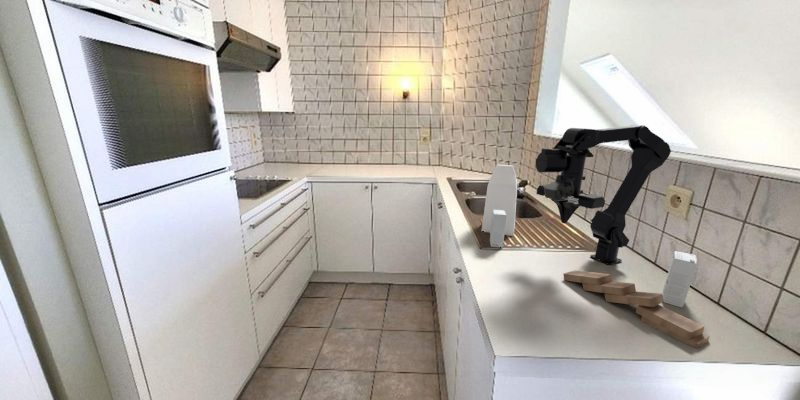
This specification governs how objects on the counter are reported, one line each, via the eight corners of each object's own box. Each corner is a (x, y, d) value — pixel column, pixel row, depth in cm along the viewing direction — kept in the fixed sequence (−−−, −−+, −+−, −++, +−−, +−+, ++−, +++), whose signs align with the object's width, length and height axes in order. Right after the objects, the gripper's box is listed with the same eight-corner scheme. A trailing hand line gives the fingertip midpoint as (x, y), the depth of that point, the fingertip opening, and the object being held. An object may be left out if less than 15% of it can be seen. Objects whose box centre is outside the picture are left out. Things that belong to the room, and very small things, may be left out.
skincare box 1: (503, 248, 109) (506, 215, 106) (490, 246, 110) (493, 214, 107) (501, 241, 115) (504, 210, 112) (489, 240, 116) (492, 209, 113)
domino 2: (593, 279, 86) (634, 283, 77) (595, 286, 86) (635, 291, 77) (582, 283, 83) (622, 288, 74) (583, 290, 83) (624, 295, 74)
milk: (481, 231, 125) (487, 166, 118) (485, 222, 135) (490, 162, 129) (513, 235, 121) (521, 168, 114) (514, 226, 131) (521, 164, 124)
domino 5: (653, 310, 73) (709, 336, 65) (651, 316, 74) (707, 343, 65) (641, 316, 71) (698, 343, 62) (640, 322, 71) (696, 351, 63)
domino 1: (574, 270, 91) (610, 274, 82) (575, 276, 91) (611, 281, 82) (563, 273, 88) (598, 278, 79) (564, 280, 88) (599, 285, 79)
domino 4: (650, 300, 74) (704, 326, 65) (649, 307, 74) (702, 333, 65) (637, 305, 72) (691, 332, 63) (635, 312, 72) (688, 340, 63)
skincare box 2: (661, 292, 83) (672, 249, 80) (684, 298, 80) (696, 254, 77) (660, 302, 78) (672, 257, 75) (684, 309, 76) (697, 263, 73)
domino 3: (615, 289, 81) (662, 293, 72) (616, 296, 80) (663, 301, 72) (604, 294, 78) (651, 298, 69) (606, 301, 78) (653, 307, 69)
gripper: (526, 168, 97) (520, 217, 101) (583, 180, 81) (574, 237, 85) (552, 167, 101) (545, 213, 105) (611, 177, 85) (600, 231, 89)
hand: (563, 222), depth 96 cm, fingers closed
